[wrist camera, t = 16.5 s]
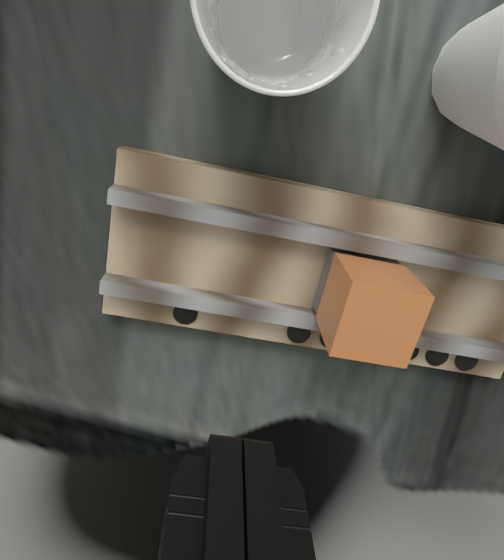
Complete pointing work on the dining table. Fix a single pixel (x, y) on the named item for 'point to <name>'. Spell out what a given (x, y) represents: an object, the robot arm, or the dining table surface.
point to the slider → (370, 308)
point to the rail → (290, 257)
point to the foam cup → (474, 78)
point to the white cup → (284, 40)
